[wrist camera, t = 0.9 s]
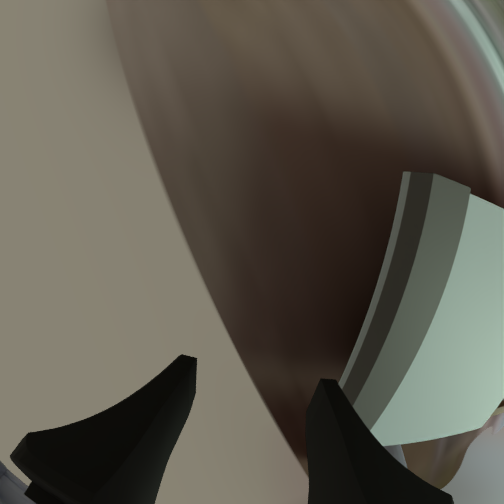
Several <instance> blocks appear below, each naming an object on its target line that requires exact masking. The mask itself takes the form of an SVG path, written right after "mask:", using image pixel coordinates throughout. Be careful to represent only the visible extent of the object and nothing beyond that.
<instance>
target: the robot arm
mask: <svg viewBox="0 0 504 504" xmlns="http://www.w3.org/2000/svg"><path fill="white" fill-rule="evenodd" d="M196 370H197V358H194V357H190V356H186V355H180V356H178V357H177V358H176V359H175V360H174V361H173V362H172V363H171V364H170V365H169V366H168V367H167V368H166V369H164V370H163V371H162V372H161V373H160V374H159V375H157V376H156V377H155V378H154V379H152V380H151V381H150V382H149V383H147V384H146V385H145V386H143V387H142V388H141V389H139V390H138V391H136V392H135V393H133V394H132V395H130V396H129V397H127V398H126V399H124V400H123V401H121V402H119V403H118V404H116V405H114V406H112V407H110V408H108V409H106V410H105V411H102V412H100V413H98V414H96V415H94V416H91V417H89V418H87V419H84V420H81V421H78V422H75V423H72V424H69V425H65V426H62V427H58V428H54V429H49V430H43V431H37V432H30V433H28V434H27V435H26V436H25V437H24V438H23V439H22V440H21V442H20V443H19V444H18V446H17V447H16V449H15V450H14V451H13V452H12V454H11V455H10V458H11V460H12V461H13V462H14V464H15V465H16V466H17V467H18V468H19V469H20V470H21V471H22V472H23V473H24V474H25V475H26V476H27V477H28V478H29V479H30V480H31V481H32V482H31V483H30V485H29V487H28V486H27V485H26V484H25V483H23V482H22V481H21V480H20V479H18V478H17V477H16V476H15V475H14V474H13V473H11V472H10V471H9V470H8V469H7V468H6V467H5V465H4V464H3V463H2V462H1V461H0V504H155V500H156V497H157V493H158V490H159V487H160V483H161V480H162V477H163V473H164V471H165V468H166V465H167V462H168V460H169V457H170V455H171V452H172V450H173V448H174V446H175V444H176V442H177V440H178V438H179V435H180V433H181V431H182V429H183V427H184V424H185V422H186V420H187V418H188V416H189V413H190V410H191V407H192V404H193V400H194V397H195V393H196ZM305 433H306V446H307V459H308V471H309V495H308V504H454V502H453V498H452V496H451V495H450V494H448V493H446V492H444V491H442V490H440V489H438V488H436V487H434V486H432V485H430V484H429V483H427V482H425V481H424V480H422V479H421V478H419V477H418V476H416V475H415V474H414V473H412V472H411V471H410V470H408V468H407V465H406V461H405V458H404V455H403V451H402V448H401V445H400V444H399V445H389V446H382V445H381V443H380V442H379V441H378V440H377V439H376V438H375V437H374V435H373V434H372V433H371V432H370V430H369V429H368V428H367V426H366V425H365V424H364V422H363V421H362V419H361V418H360V417H359V415H358V414H357V412H356V411H355V409H354V408H353V406H352V405H351V403H350V402H349V400H348V399H347V397H346V395H345V394H344V392H343V391H342V389H341V387H340V386H339V384H338V383H337V381H336V380H333V379H322V378H321V379H320V381H319V384H318V386H317V388H316V391H315V393H314V395H313V398H312V400H311V402H310V405H309V407H308V409H307V411H306V432H305Z"/></svg>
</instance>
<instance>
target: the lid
mask: <svg viewBox="0 0 504 504" xmlns="http://www.w3.org/2000/svg"><path fill="white" fill-rule="evenodd" d="M470 191H471V188H469V187H467V186H465V185H462V184H460V183H458V182H455V181H453V180H450V179H448V178H445V177H442V176H440V175H437V174H434V173H422V172H404V171H403V176H402V182H401V188H400V193H399V198H398V203H397V208H396V213H395V218H394V222H393V226H392V231H391V235H390V239H389V243H388V247H387V250H386V254H385V258H384V261H383V265H382V268H381V272H380V275H379V278H378V282H377V285H376V288H375V291H374V294H373V297H372V300H371V303H370V306H369V309H368V312H367V315H366V318H365V320H364V323H363V326H362V328H361V331H360V334H359V336H358V339H357V341H356V344H355V346H354V349H353V351H352V354H351V356H350V359H349V361H348V363H347V366H346V368H345V370H344V372H343V375H342V377H341V379H340V381H339V383H338V384H339V386H340V387H341V389H342V391H343V392H344V394H345V395H346V397H347V399H348V400H349V402H350V403H351V405H352V406H353V408H354V409H355V411H356V412H357V414H358V415H359V417H360V418H361V419H362V421H363V422H364V424H365V425H366V426H367V428H368V429H369V430H370V432H371V433H372V434H373V435H374V437H375V438H376V439H377V440H378V441H379V442H380V443H381V445H382V446H389V445H399V444H407V443H414V442H420V441H426V440H432V439H437V438H442V437H446V436H451V435H455V434H459V433H463V432H467V431H471V430H474V429H478V428H481V427H482V426H483V425H484V423H485V422H486V421H487V420H488V418H489V417H490V416H491V415H492V413H493V412H494V411H495V409H496V408H497V407H498V405H499V404H500V403H501V401H502V400H503V399H504V209H503V208H501V207H499V206H497V205H494V204H492V203H490V202H488V201H486V200H483V199H481V198H479V197H477V196H474V195H472V194H470Z"/></svg>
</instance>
